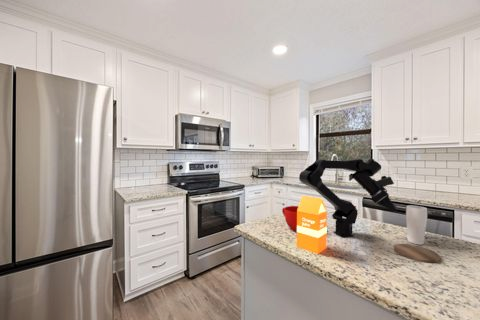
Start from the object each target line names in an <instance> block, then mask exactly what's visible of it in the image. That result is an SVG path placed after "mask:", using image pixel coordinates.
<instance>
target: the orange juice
mask: <svg viewBox="0 0 480 320" xmlns="http://www.w3.org/2000/svg"><path fill="white" fill-rule="evenodd" d="M298 206H299V207H298V210H297V231H296V247H297V248H300V249H302V250H305V251H308V252H311V253H314V254H316V255H319V254H320V253H321V252H323V251H324V250H326V249H327V233H328V232H327V230H328V229H327V228H328V225H327V223H328V222H327V220H328V218H327V217H328V212H327V209H326V205H325V202H324V200H323V198H321V197H315V196H307V195H301V199H300V201H299V205H298Z"/></svg>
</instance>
